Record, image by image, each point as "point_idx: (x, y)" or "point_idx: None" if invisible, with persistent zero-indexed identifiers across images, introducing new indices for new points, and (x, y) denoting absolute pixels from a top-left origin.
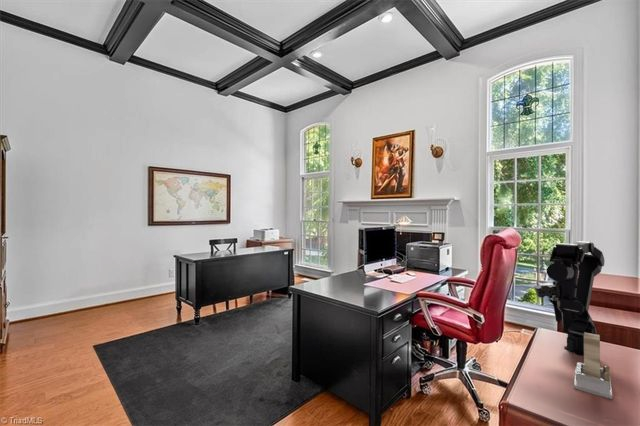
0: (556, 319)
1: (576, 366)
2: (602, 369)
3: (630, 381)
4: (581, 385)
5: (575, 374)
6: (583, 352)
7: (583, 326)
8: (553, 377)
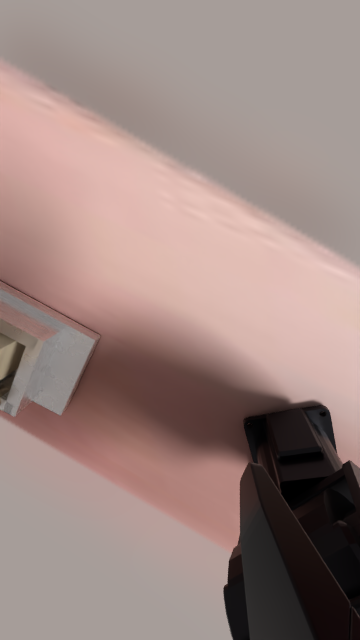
0: (254, 482)
1: (94, 341)
2: (6, 397)
3: (72, 451)
4: None
5: (16, 299)
6: (256, 445)
7: (237, 588)
8: (3, 211)
